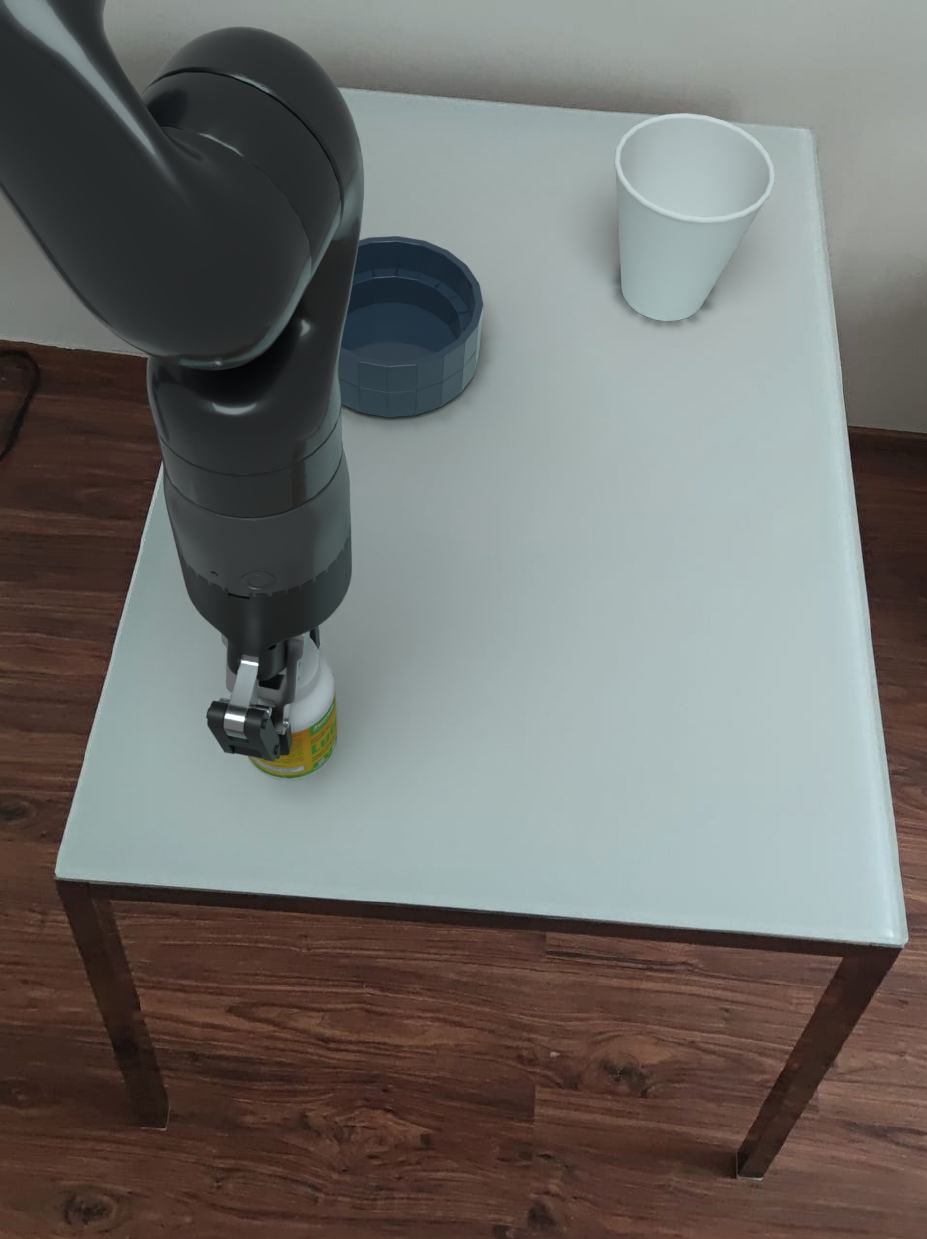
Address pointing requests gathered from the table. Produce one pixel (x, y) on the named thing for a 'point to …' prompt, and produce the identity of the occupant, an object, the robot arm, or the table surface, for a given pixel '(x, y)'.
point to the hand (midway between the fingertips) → (285, 697)
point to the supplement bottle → (307, 722)
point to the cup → (684, 208)
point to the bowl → (408, 328)
